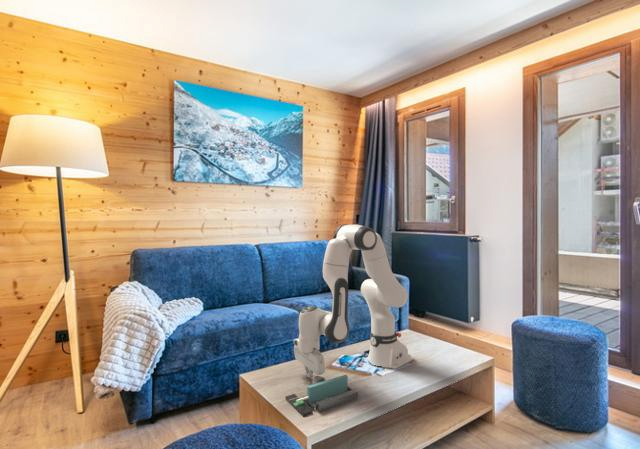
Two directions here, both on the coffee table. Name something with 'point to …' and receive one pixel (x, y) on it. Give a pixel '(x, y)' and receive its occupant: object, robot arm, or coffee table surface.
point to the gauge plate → (326, 389)
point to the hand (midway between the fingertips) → (309, 376)
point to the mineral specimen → (317, 380)
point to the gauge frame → (322, 402)
